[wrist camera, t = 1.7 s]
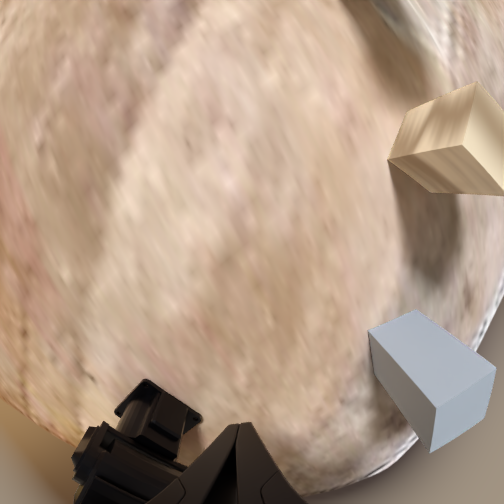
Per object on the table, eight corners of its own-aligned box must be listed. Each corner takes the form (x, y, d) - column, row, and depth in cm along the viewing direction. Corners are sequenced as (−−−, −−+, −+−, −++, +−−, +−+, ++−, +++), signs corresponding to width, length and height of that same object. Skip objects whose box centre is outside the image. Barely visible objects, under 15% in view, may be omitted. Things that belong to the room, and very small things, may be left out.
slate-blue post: (374, 373, 23) (429, 453, 13) (367, 330, 22) (436, 408, 12) (418, 353, 23) (484, 417, 13) (415, 309, 22) (496, 367, 12)
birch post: (430, 192, 21) (508, 196, 12) (387, 159, 20) (461, 144, 11) (447, 145, 20) (521, 133, 11) (406, 111, 19) (477, 81, 10)
